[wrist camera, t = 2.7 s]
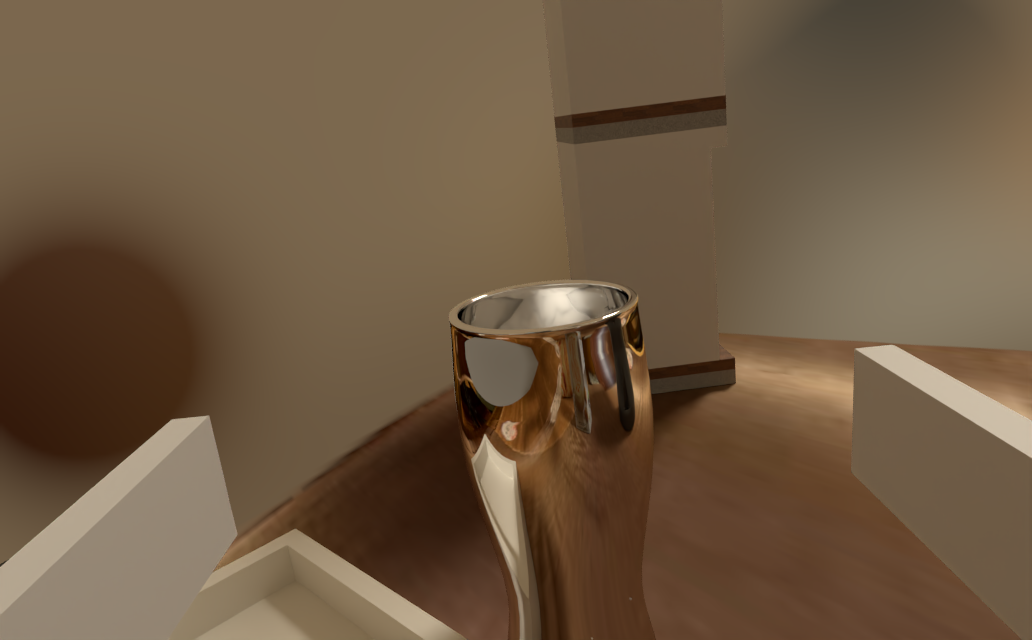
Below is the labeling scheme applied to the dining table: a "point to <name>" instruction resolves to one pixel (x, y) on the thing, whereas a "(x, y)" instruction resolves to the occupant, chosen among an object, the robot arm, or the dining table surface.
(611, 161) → the tall white shelf unit
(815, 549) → the dining table surface
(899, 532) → the dining table surface
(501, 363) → the beer glass
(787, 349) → the dining table surface
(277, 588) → the dish
